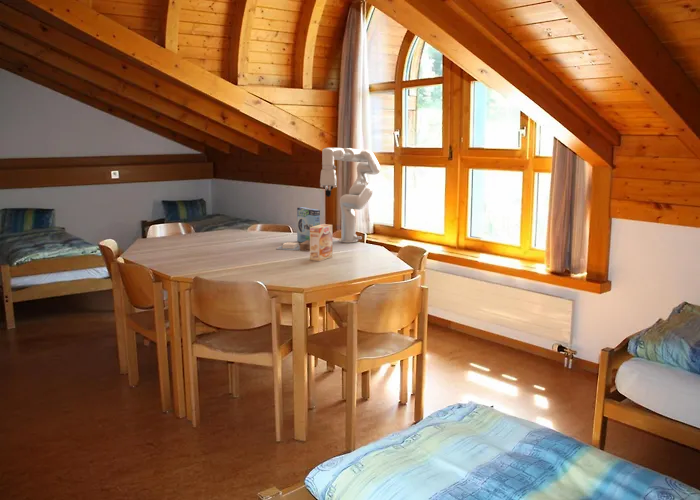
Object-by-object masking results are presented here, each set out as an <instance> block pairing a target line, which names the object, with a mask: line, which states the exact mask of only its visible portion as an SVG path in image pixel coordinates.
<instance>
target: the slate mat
mask: <svg viewBox="0 0 700 500" xmlns="http://www.w3.org/2000/svg"><path fill="white" fill-rule="evenodd" d="M276 250H280V251H281V250H282V251H301V250H300V244H299V247H297V248H295V249H292V248H283V245H282V246H281V245H280V246H279V247H277V248H276Z"/></svg>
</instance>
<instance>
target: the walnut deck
mask: <svg viewBox="0 0 700 500" xmlns="http://www.w3.org/2000/svg"><path fill="white" fill-rule="evenodd" d="M299 245H300V250H299V251H304V252H305V251H307V252H310V240H306V241H304V242H300V243H299Z"/></svg>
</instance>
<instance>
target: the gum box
mask: <svg viewBox="0 0 700 500" xmlns="http://www.w3.org/2000/svg"><path fill="white" fill-rule="evenodd" d="M296 212H297V214H296V215H297V216H296V221H297V223H296V225H297V226H296V229H297V230H296V232H297V234H296V235H297V238H296V240H297V241H296V242H298V243H299V242H300V243H303V242H304V241H306V240H310V227H313V226H317V225H321V210H320V209H314V208H311V207H310V208H308V207H301V206H299V207H297V209H296Z"/></svg>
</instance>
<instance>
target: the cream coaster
mask: <svg viewBox="0 0 700 500" xmlns="http://www.w3.org/2000/svg"><path fill="white" fill-rule="evenodd" d="M299 245H300V243H299V242H290V241H289V242H288V241H287V242H285V243H283V244H282V246H283V248H292V249H295V248H297V247H299Z"/></svg>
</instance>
